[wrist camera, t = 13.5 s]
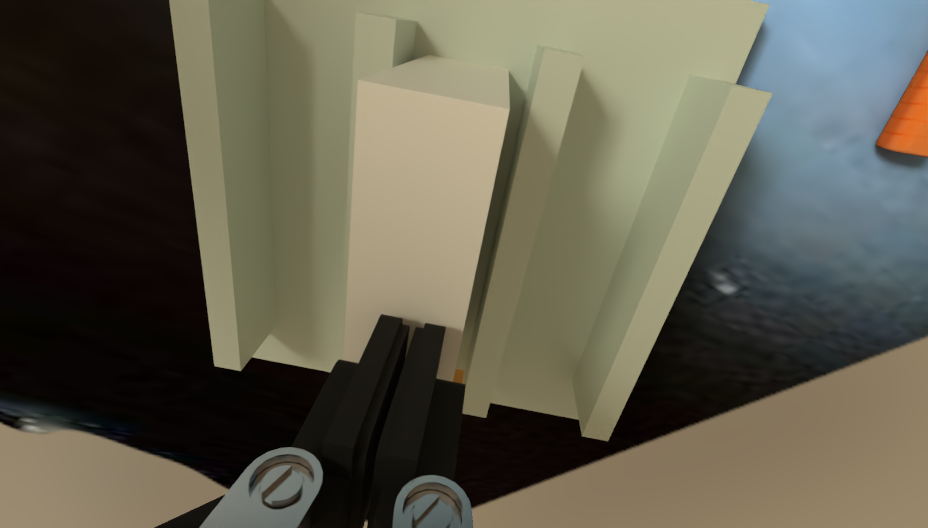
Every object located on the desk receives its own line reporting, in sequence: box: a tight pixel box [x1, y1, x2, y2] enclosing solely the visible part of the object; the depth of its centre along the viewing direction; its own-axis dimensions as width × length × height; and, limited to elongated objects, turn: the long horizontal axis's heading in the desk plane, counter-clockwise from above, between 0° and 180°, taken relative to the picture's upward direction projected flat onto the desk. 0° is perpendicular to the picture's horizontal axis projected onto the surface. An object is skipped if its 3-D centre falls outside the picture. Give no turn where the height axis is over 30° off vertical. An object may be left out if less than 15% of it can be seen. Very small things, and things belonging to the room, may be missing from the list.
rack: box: [169, 0, 773, 441], centre depth 19 cm, size 20×19×5 cm
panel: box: [343, 55, 510, 382], centre depth 15 cm, size 12×3×9 cm, turn 170°
